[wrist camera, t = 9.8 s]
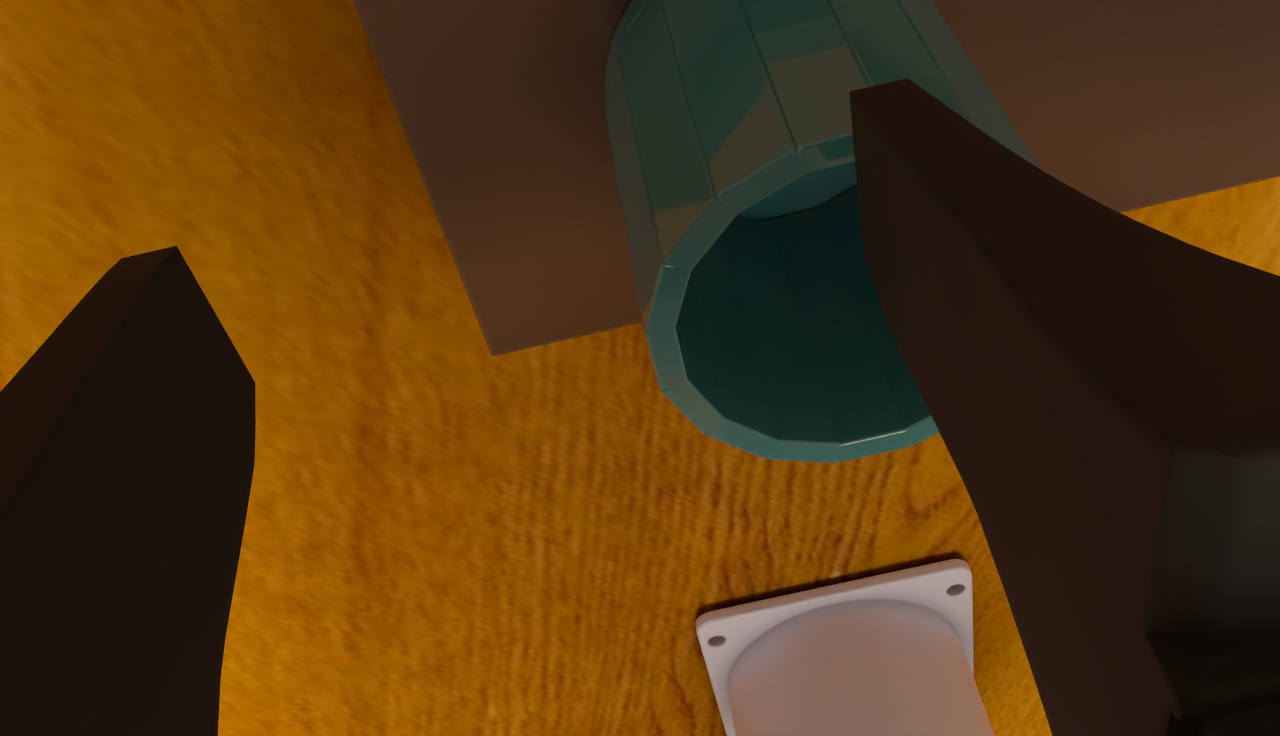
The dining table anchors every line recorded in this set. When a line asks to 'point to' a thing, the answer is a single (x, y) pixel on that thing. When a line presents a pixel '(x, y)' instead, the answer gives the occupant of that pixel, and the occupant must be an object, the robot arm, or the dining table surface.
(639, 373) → the dining table surface
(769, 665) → the robot arm
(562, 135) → the shelf
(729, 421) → the cup
